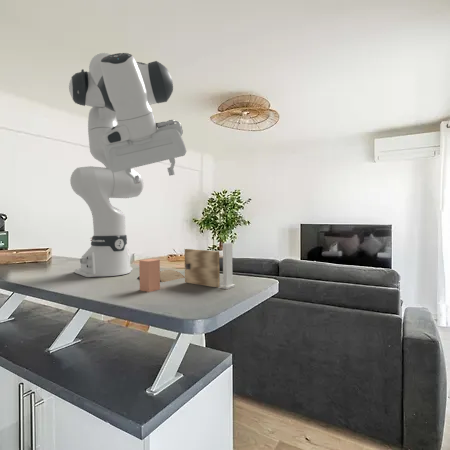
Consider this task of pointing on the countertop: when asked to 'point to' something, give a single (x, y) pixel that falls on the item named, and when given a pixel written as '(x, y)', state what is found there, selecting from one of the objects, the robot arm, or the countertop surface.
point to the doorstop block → (149, 275)
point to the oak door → (202, 267)
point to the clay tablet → (169, 275)
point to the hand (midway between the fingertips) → (154, 178)
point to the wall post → (227, 266)
